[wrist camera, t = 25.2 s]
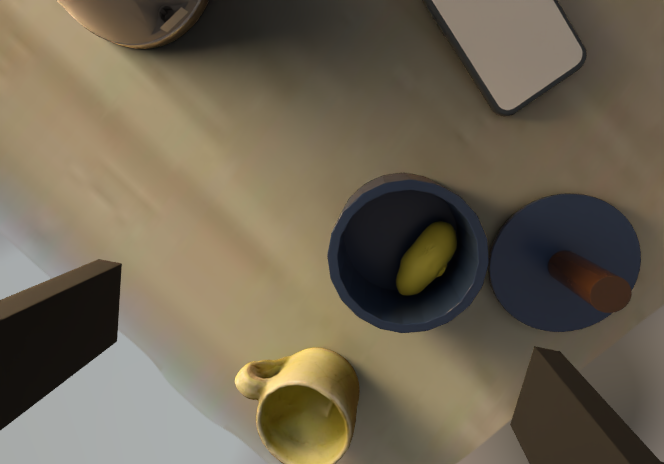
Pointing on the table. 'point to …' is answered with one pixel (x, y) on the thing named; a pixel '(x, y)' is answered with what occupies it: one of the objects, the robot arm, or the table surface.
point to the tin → (392, 243)
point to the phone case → (510, 47)
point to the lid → (564, 262)
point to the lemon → (426, 258)
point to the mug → (303, 405)
